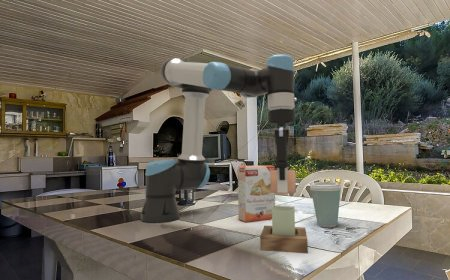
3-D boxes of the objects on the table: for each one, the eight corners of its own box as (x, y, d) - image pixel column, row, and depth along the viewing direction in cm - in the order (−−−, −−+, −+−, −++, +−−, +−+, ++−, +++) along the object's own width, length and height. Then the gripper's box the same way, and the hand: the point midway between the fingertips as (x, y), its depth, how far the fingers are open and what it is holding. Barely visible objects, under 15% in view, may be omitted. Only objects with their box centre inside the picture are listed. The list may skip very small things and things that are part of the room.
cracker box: (246, 223, 106) (245, 166, 107) (237, 219, 111) (237, 165, 112) (276, 218, 112) (275, 165, 114) (267, 216, 118) (266, 165, 119)
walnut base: (260, 249, 76) (260, 236, 76) (264, 237, 87) (264, 225, 88) (307, 253, 73) (307, 239, 73) (305, 239, 85) (305, 227, 85)
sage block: (272, 239, 78) (272, 209, 79) (273, 233, 84) (273, 206, 84) (295, 240, 77) (294, 210, 77) (294, 234, 83) (294, 206, 83)
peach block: (269, 193, 78) (269, 171, 79) (271, 190, 85) (270, 169, 85) (296, 193, 77) (295, 171, 77) (295, 190, 83) (295, 169, 84)
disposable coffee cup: (339, 230, 94) (337, 184, 95) (306, 226, 100) (305, 183, 101) (345, 224, 103) (344, 182, 104) (315, 220, 109) (314, 180, 110)
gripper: (295, 103, 72) (297, 195, 70) (294, 114, 91) (296, 187, 90) (265, 104, 73) (266, 195, 72) (270, 115, 93) (271, 186, 91)
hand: (283, 190), depth 81 cm, fingers closed on peach block, 7 cm apart
